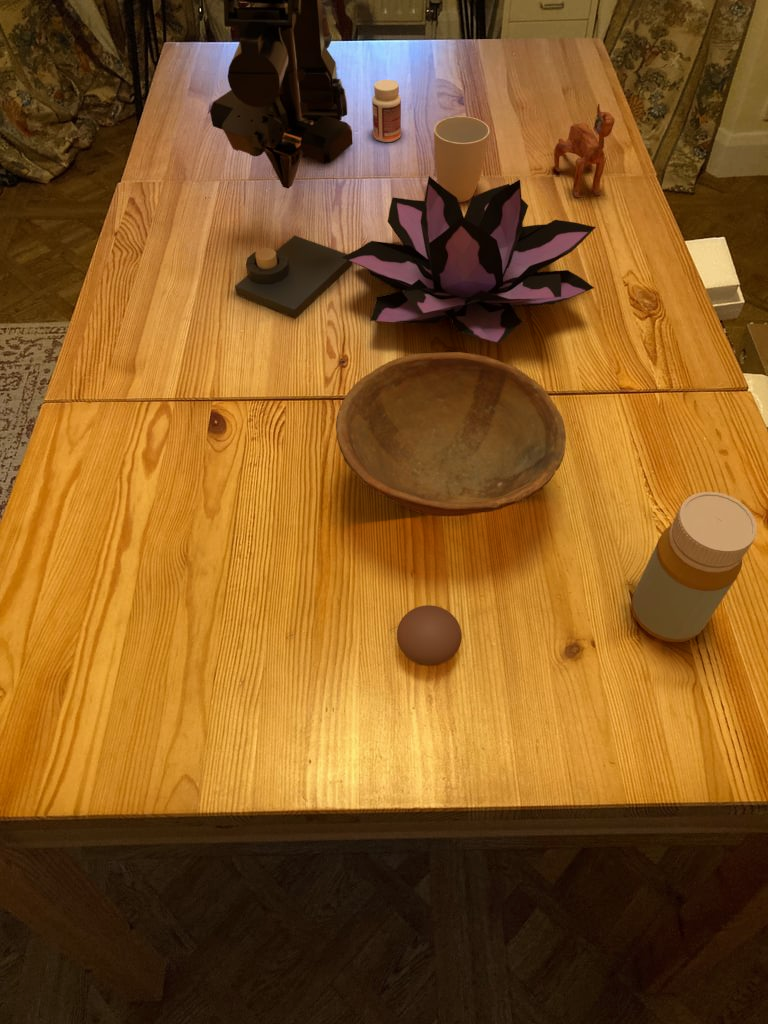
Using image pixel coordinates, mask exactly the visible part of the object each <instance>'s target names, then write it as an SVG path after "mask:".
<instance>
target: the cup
mask: <svg viewBox="0 0 768 1024" xmlns="http://www.w3.org/2000/svg"><path fill="white" fill-rule="evenodd" d="M489 135H490V127H489V125H487V123H486V122H485V121H483V120H482V119H478V118H475V117H471V116H463V115H461V116H459V115H457V116H450V117H446V118H442V120H441V119H440V120H439V121H437V123H436V124H435V125H434V128H433V144H434V145H433V148H434V155H433V156H434V163H435V165H434V166H435V173H436V181H437V183H438V184H439V185H441V186H442V187H443V188H444V189H446V190H447V191H449V192H450V193H451V194H453V195H454V196H455V197H457V200H458V202H459V203H463V202H467V201H469V200H471V198H472V197H474V194H475V192H476V189H477V188H478V185H479V182H480V179H481V176H482V172H483V168H484V164H485V161H486V155H487V149H488V142H489V138H490V137H489Z"/></svg>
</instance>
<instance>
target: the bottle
mask: <svg viewBox="0 0 768 1024" xmlns="http://www.w3.org/2000/svg"><path fill="white" fill-rule="evenodd" d="M757 531H758V525H757V521H756V519H755V516H754V514H753V513H752V512H751V510H750V509H749V508H748V507H747V506H746V505H745V504H743V502H741V501H740V500H738V499H737V498H735V497H733V496H731V495H728V494H724V493H721V492H718V491H717V492H716V491H702V492H697V493H694V494H692V495H690V496H689V497H687V498H686V499H685V500H684V501H683V502H682V503H681V504H680V506H679V508H678V511H677V512H676V515H675V517H674V518H673V521H672V524H670V525H669V526H668V527H667V528H665V529H664V530H663V531H662V533H661V535H660V537H659V539H658V540H657V543H656V545H655V547H654V548H653V551H652V553H651V556H650V557H649V560H648V562H647V564H646V566H645V568H644V570H643V572H642V574H641V576H640V579H639V580H638V582H637V585H636V587H635V589H634V592H633V594H632V597H631V603H630V604H631V606H630V607H631V611H632V615H633V618H634V619H635V621H636V622H637V623H638V625H639V627H641V628H642V629H643V631H645V632H646V633H647V634H649V635H651V636H652V637H655V638H656V639H659V640H661V641H664V642H668V643H669V642H670V643H682V642H683V643H684V642H687V641H689V640H693V639H694V638H696V637H697V636H698V635H699V634H700V633H702V631H703V630H704V628H705V627H706V626H707V624H708V623H709V621H710V619H711V618H712V616H713V615H714V613H715V612H716V610H717V608H718V607H719V605H720V604H721V602H722V601H723V600H724V598H725V596H726V595H727V594H728V592H729V591H730V589H731V588H732V586H733V585H734V583H735V581H736V580H737V578H738V576H739V574H740V573H741V569H742V567H743V558H744V557H745V555H746V554H747V552H748V551H749V550H750V548H751V546H752V545H753V543H754V542H755V540H756V537H757Z"/></svg>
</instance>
